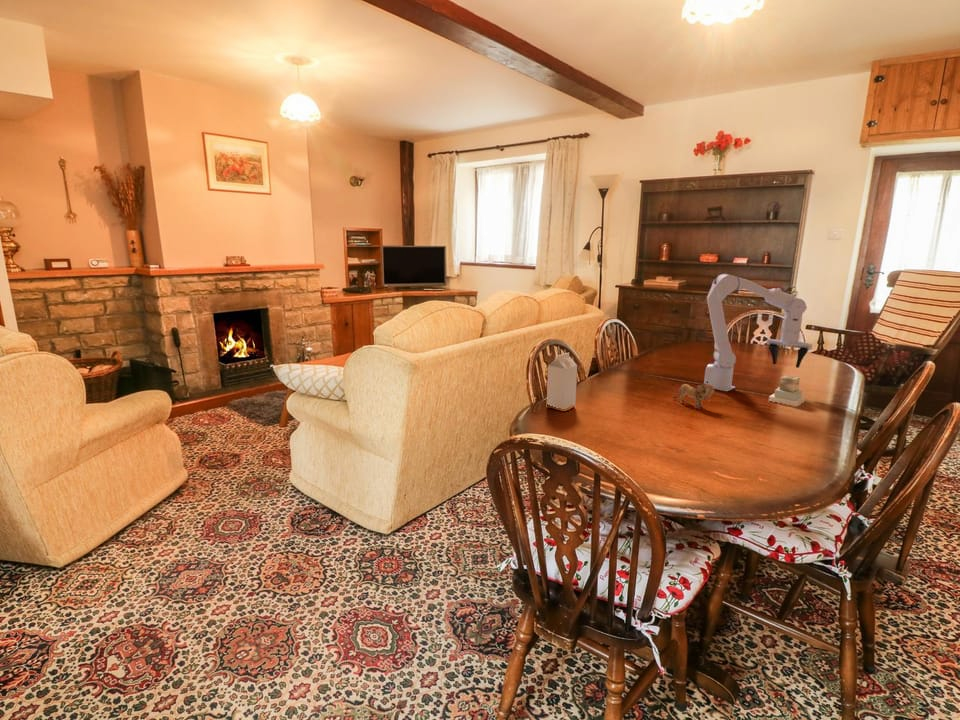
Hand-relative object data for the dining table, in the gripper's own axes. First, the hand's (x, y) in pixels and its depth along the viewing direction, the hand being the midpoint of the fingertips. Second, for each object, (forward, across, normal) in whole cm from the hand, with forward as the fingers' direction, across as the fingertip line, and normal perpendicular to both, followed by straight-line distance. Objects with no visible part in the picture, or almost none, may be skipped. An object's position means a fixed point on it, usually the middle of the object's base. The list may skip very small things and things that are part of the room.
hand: (785, 365), depth 187 cm
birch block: (+6, +4, -12) cm, 14 cm away
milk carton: (+11, -49, -76) cm, 91 cm away
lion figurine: (+11, -18, -40) cm, 45 cm away
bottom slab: (+11, +4, -12) cm, 17 cm away
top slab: (+9, +4, -12) cm, 16 cm away
